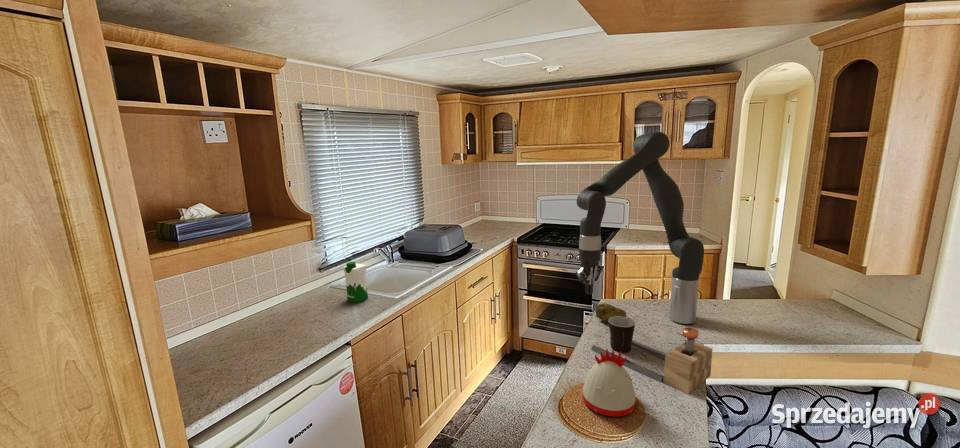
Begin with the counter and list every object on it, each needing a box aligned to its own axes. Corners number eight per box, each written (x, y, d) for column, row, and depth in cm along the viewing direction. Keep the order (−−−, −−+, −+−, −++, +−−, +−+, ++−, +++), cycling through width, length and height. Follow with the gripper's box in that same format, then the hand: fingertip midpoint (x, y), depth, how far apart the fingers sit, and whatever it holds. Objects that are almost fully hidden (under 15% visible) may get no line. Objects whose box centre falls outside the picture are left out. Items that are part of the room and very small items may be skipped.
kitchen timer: (635, 421, 100) (637, 367, 97) (579, 409, 105) (580, 358, 102) (635, 390, 113) (637, 341, 110) (585, 381, 118) (586, 334, 115)
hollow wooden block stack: (686, 366, 124) (688, 340, 122) (710, 376, 118) (712, 348, 117) (663, 382, 116) (665, 354, 114) (687, 394, 110) (689, 364, 108)
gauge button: (684, 356, 119) (687, 326, 117) (698, 361, 115) (701, 330, 114) (678, 360, 116) (680, 330, 115) (692, 366, 113) (694, 334, 111)
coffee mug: (613, 340, 142) (613, 314, 140) (637, 347, 137) (638, 320, 135) (600, 353, 133) (600, 325, 132) (625, 361, 128) (626, 332, 126)
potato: (630, 326, 152) (631, 307, 151) (597, 327, 153) (597, 307, 152) (624, 318, 161) (624, 299, 159) (592, 318, 161) (592, 299, 160)
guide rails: (616, 337, 144) (616, 333, 144) (685, 365, 124) (685, 361, 124) (591, 350, 135) (591, 346, 135) (661, 382, 116) (661, 377, 116)
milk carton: (344, 304, 185) (340, 263, 181) (359, 297, 193) (356, 258, 189) (357, 307, 180) (353, 265, 177) (372, 300, 188) (368, 260, 184)
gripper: (592, 242, 146) (591, 286, 149) (569, 248, 138) (568, 295, 141) (610, 245, 140) (608, 292, 143) (586, 252, 132) (585, 301, 135)
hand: (588, 293), depth 142 cm, fingers closed
